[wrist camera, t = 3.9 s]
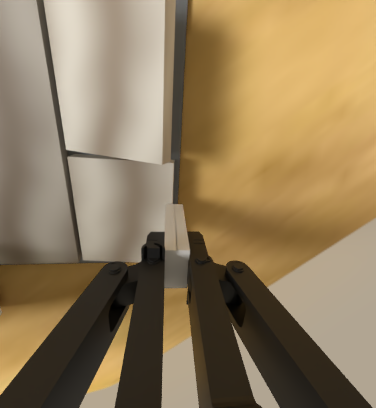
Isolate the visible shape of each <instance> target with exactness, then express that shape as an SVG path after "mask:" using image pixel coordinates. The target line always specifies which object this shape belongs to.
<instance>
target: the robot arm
mask: <svg viewBox="0 0 376 408" xmlns="http://www.w3.org/2000/svg"><path fill="white" fill-rule="evenodd" d="M187 284H188V292H187V304H188V306H189V316H190V325H191V335H192V344H193V353H194V362H195V372H196V381H197V391H198V401H199V408H262V407H261V406H260V405H258V404H257V403H256V401H255V399H254V397H253V394H252V390H251V387H250V384H249V380H248V377H247V374H246V370H245V367H244V364H243V360H242V357H241V354H240V350H239V347H238V344H237V340H236V337H235V334H234V330H233V327H232V324H233V326H234V328H235V330H236V331H237V333H238V335H239V337H240V338H241V340H242V342H243V344H244V345H245V347H246V349H247V351H248V352H249V354H250V356H251V358H252V359H253V361H254V363H255V365H256V366H257V368H258V370H259V372H260V373H261V375H262V377H263V378H264V380H265V382H266V384H267V386H268V387H269V389H270V391H271V393H272V394H273V396H274V398H275V400H276V401H277V403H278V405H279V407H280V408H372V407H371V405H370V404H369V403H368V402H367V401H366V400H365V399H364V398H363V396H362V395H361V394H360V393H359V392H358V391H357V390H356V388H355V387H354V386H353V385H352V384H351V383H350V382H349V380H348V379H347V378H346V377H345V376H344V375H343V374H342V372H341V371H340V370H339V369H338V368H337V367H336V366H335V365H334V363H333V362H332V361H331V360H330V359H329V358H328V357H327V355H326V354H325V353H324V352H323V351H322V350H321V349H320V347H319V346H318V345H317V344H316V343H315V342H314V341H313V340H312V338H311V337H310V336H309V335H308V334H307V333H306V332H305V330H304V329H303V328H302V327H301V326H300V325H299V324H298V322H297V321H296V320H295V319H294V318H293V317H292V316H291V314H290V313H289V312H288V311H287V310H286V309H285V308H284V307H283V305H282V304H281V303H280V302H279V301H278V300H277V299H276V297H275V296H273V294H272V293H271V292H270V291H269V289H268V288H267V287H266V286H265V285H264V284H263V283H262V282H261V280H260V279H259V278H258V277H257V276H256V275H255V274H254V272H253V271H252V270H251V269H250V268H249V267H248V266H247V265H246V264H245V263H243V262H240V261H230V262H228V263H227V264H226V266H223V265H219V264H216V263H214V262H213V260H212V259H211V257H210V256H208V253H207V249H206V246H205V242H204V239H203V235H202V234H201V233H200V232H187V228H186V222H185V216H184V209H183V204H166V210H165V232H150V233H149V234H148V235H147V241H146V243H145V244H144V245H143V246H142V248H141V262H139V263H138V264H136V265H132V266H128V267H127V265H126V264H125V263H123V262H120V261H115V262H111V263H108V264H106V265H105V266H104V267H103V268H102V269H101V271H100V272H99V273H98V274H97V276H96V277H95V278H94V279H93V281H92V282H91V283H90V284H89V286H88V287H87V288H86V289H85V291H84V292H83V293H82V294H81V295H80V297H79V298H78V299H77V300H76V302H75V303H74V304H73V305H72V307H71V308H70V309H69V310H68V312H67V313H66V314H65V315H64V317H63V318H62V319H61V320H60V322H59V323H58V324H57V325H56V327H55V328H54V329H53V330H52V332H51V333H50V334H49V335H48V337H47V338H46V339H45V340H44V342H43V343H42V344H41V345H40V347H39V348H38V349H37V350H36V352H35V353H34V354H33V355H32V357H31V358H30V359H29V360H28V362H27V363H26V364H25V365H24V367H23V368H22V369H21V370H20V372H19V373H18V374H17V375H16V377H15V378H14V379H13V380H12V381H11V383H10V384H9V385H8V386H7V388H6V389H5V390H4V391H3V393H2V394H1V395H0V408H79V407H80V405H81V402H82V401H83V399H84V396H85V395H86V393H87V391H88V389H89V387H90V385H91V383H92V381H93V379H94V377H95V375H96V373H97V371H98V369H99V367H100V365H101V363H102V361H103V359H104V357H105V355H106V353H107V351H108V349H109V347H110V345H111V343H112V340H113V338H114V336H115V334H116V332H117V330H118V328H119V326H120V324H121V322H122V320H123V318H124V316H125V314H126V312H127V310H128V308H129V305H130V304H133V303H134V304H133V310H132V315H131V321H130V326H129V332H128V337H127V343H126V348H125V354H124V359H123V365H122V370H121V376H120V381H119V387H118V392H117V398H116V403H115V408H161V400H162V358H163V317H164V288H187Z"/></svg>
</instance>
